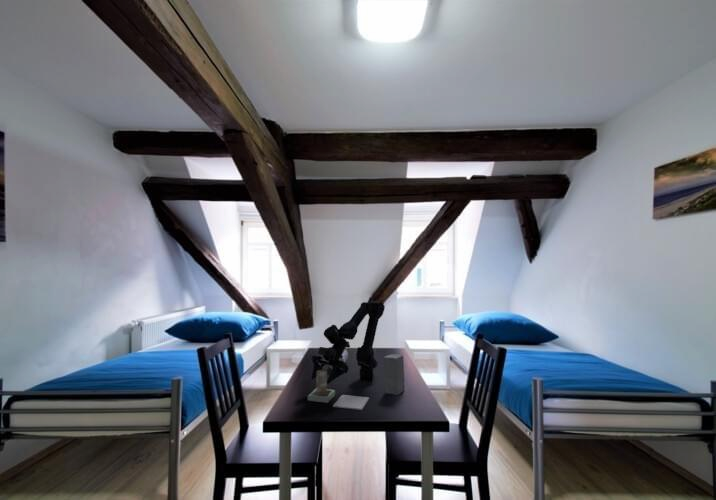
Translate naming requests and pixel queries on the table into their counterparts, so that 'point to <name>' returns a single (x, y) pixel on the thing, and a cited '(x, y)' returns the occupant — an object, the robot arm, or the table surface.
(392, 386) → the skincare box
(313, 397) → the green collar
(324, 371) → the ash peg
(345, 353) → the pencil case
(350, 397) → the rubber mat
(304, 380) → the table surface
